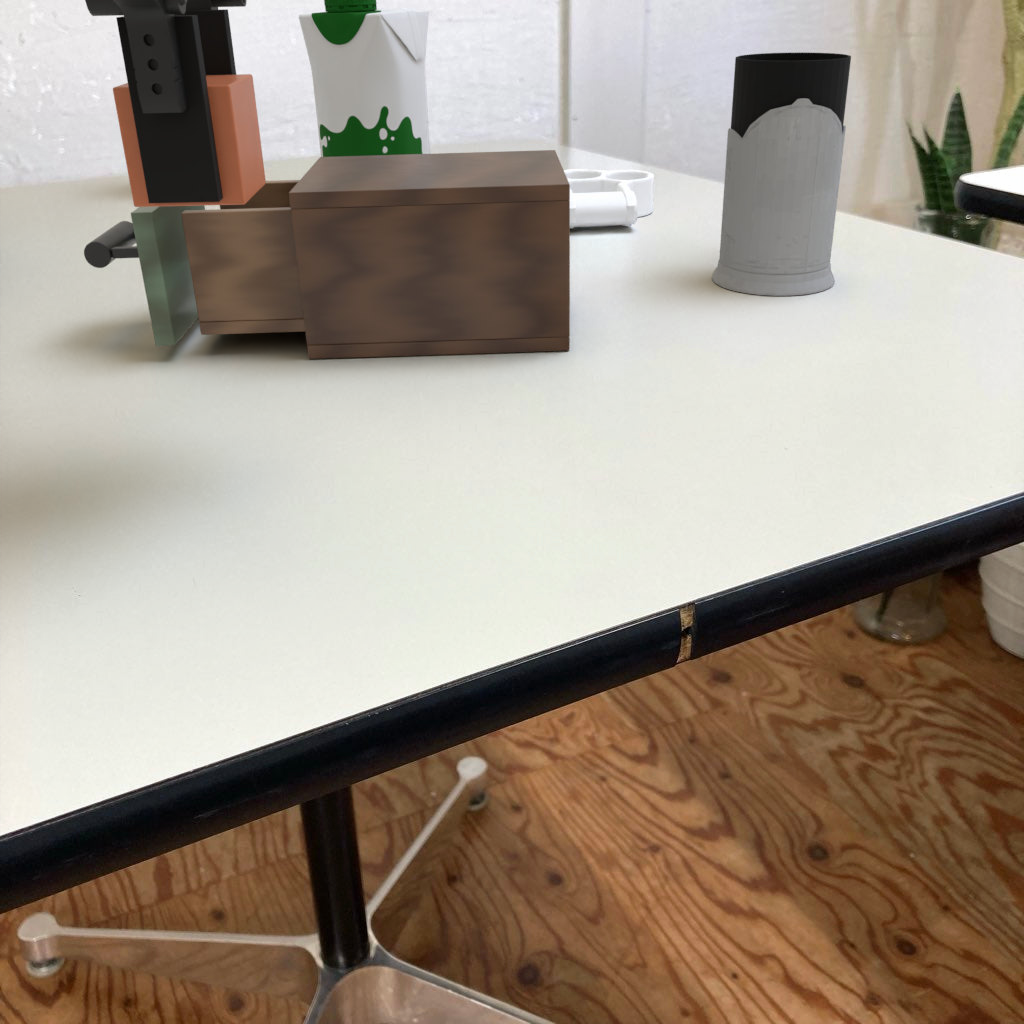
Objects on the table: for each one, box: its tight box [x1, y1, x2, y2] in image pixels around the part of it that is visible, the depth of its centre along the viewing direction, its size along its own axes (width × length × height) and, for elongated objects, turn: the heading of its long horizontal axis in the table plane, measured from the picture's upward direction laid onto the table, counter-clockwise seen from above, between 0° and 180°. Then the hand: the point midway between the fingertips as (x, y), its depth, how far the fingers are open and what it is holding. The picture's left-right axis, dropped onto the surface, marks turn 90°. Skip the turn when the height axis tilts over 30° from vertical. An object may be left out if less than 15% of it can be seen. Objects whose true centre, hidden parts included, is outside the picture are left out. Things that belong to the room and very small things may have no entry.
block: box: [112, 73, 267, 208], centre depth 42 cm, size 4×4×4 cm
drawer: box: [83, 179, 305, 347], centre depth 66 cm, size 19×12×8 cm, turn 92°
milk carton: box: [298, 0, 431, 157], centre depth 87 cm, size 9×9×20 cm
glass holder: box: [711, 52, 852, 297], centre depth 75 cm, size 9×14×15 cm, turn 179°
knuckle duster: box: [563, 168, 655, 229], centre depth 96 cm, size 3×18×15 cm
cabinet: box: [289, 149, 571, 360], centre depth 66 cm, size 16×13×10 cm
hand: (202, 186), depth 43 cm, fingers closed on block, 4 cm apart
